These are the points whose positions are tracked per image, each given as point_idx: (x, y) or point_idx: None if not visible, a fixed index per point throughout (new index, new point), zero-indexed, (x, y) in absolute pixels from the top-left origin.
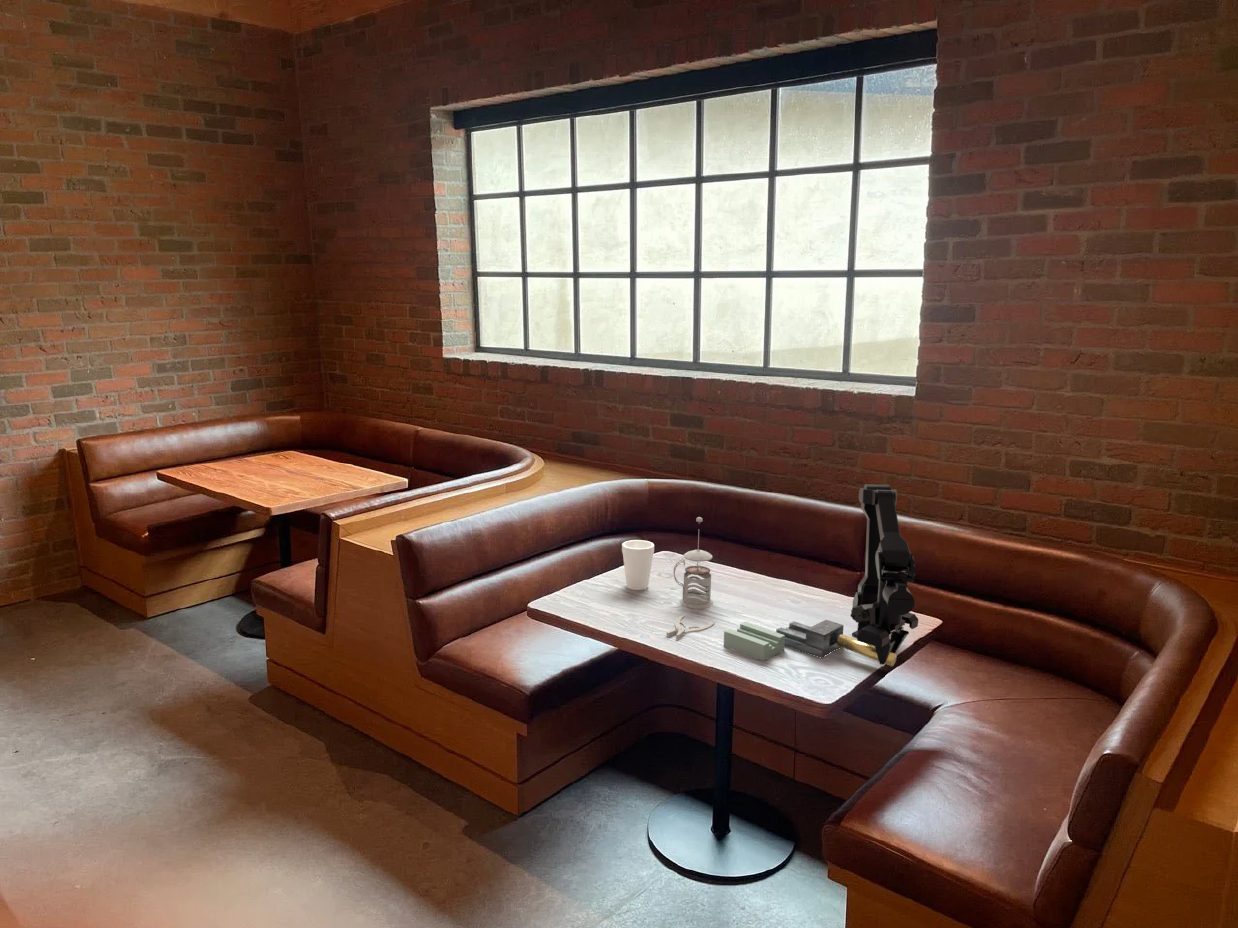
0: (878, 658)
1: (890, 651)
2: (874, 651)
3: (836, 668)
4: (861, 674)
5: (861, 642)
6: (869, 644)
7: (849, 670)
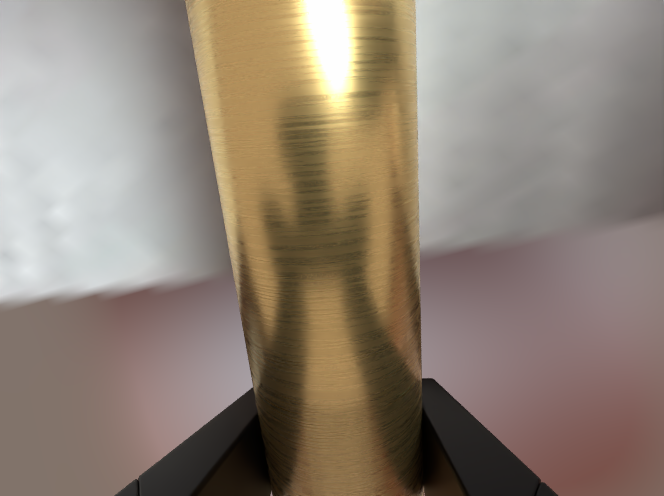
0: (222, 413)
1: (435, 492)
2: (251, 361)
3: (12, 34)
4: (121, 264)
5: (272, 72)
6: (331, 231)
7: (90, 148)
